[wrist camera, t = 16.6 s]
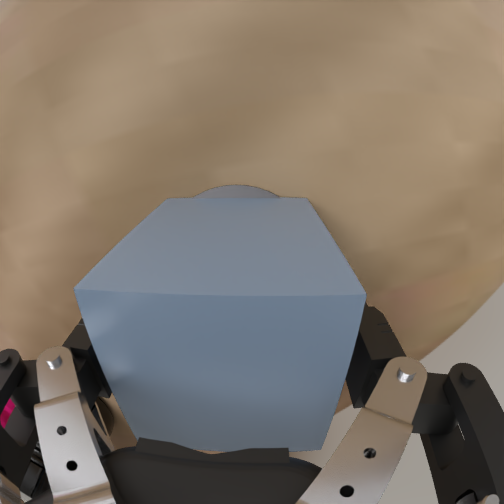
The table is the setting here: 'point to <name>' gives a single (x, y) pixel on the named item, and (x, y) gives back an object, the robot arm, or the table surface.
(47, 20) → the table surface
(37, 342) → the table surface
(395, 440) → the robot arm
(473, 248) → the table surface
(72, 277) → the table surface
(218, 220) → the blue gray block
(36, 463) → the ink bottle
